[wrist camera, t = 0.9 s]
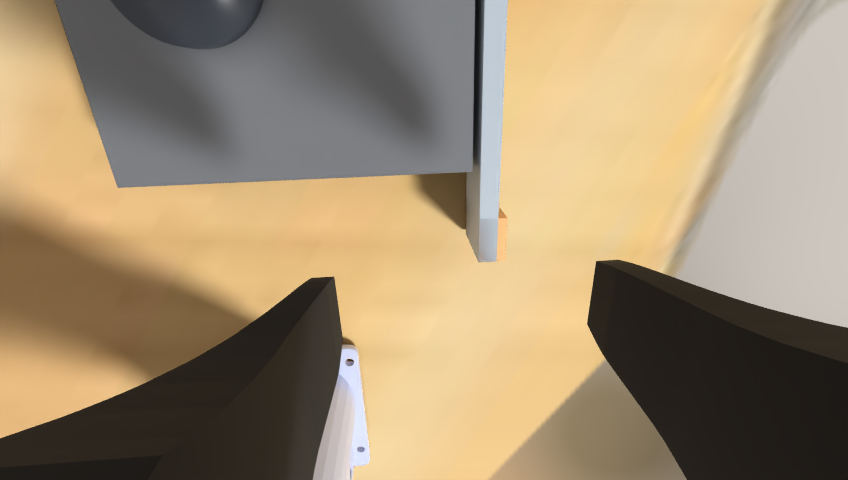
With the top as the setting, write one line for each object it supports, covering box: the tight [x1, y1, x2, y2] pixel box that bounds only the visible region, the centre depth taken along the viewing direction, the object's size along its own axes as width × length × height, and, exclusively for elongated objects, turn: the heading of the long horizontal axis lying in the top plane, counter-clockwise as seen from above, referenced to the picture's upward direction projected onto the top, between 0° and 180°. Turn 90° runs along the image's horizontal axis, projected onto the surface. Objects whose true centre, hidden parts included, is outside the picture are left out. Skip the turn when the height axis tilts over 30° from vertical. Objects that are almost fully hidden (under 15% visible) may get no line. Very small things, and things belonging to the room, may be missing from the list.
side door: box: [466, 0, 508, 262], centre depth 16 cm, size 13×1×4 cm, turn 2°
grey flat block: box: [55, 0, 475, 188], centre depth 15 cm, size 12×14×4 cm
